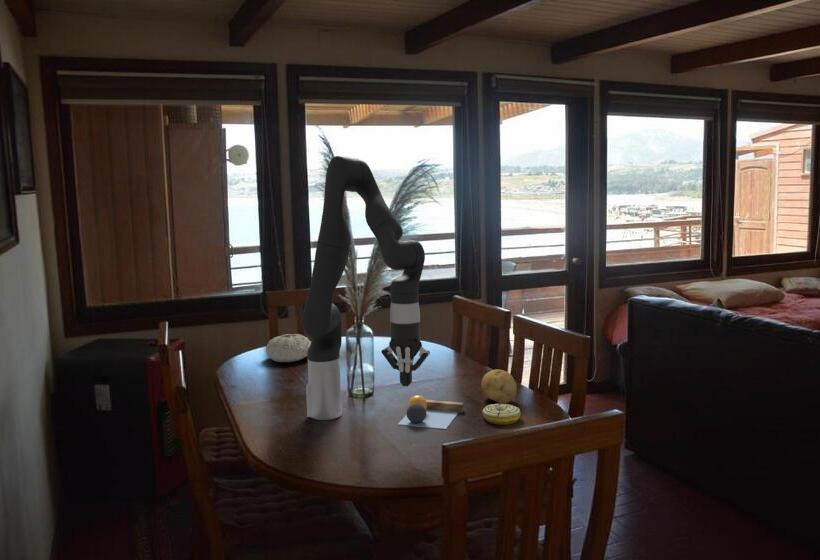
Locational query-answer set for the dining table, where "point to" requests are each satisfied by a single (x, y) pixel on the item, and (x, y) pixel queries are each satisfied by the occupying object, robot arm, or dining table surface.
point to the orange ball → (418, 401)
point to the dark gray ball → (416, 413)
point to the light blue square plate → (432, 419)
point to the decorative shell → (288, 348)
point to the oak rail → (445, 406)
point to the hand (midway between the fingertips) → (406, 385)
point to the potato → (499, 386)
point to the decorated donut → (501, 414)
